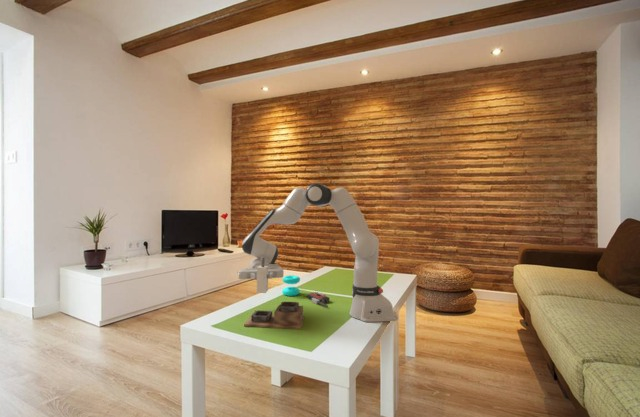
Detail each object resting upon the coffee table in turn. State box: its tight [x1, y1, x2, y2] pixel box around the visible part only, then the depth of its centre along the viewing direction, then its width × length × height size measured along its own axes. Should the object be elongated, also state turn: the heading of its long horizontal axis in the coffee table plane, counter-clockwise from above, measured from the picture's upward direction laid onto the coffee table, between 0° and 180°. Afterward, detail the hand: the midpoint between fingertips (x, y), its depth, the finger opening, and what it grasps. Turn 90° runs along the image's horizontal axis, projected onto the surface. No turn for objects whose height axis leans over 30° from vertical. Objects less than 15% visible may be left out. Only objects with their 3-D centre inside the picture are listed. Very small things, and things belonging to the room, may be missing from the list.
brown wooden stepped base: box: [243, 301, 305, 330], centre depth 140 cm, size 24×13×8 cm, turn 86°
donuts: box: [282, 275, 301, 297], centre depth 184 cm, size 10×10×10 cm
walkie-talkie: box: [306, 291, 330, 308], centre depth 170 cm, size 9×4×20 cm
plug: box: [256, 257, 269, 294], centre depth 140 cm, size 4×5×15 cm
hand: (262, 277), depth 139 cm, fingers closed on plug, 5 cm apart
